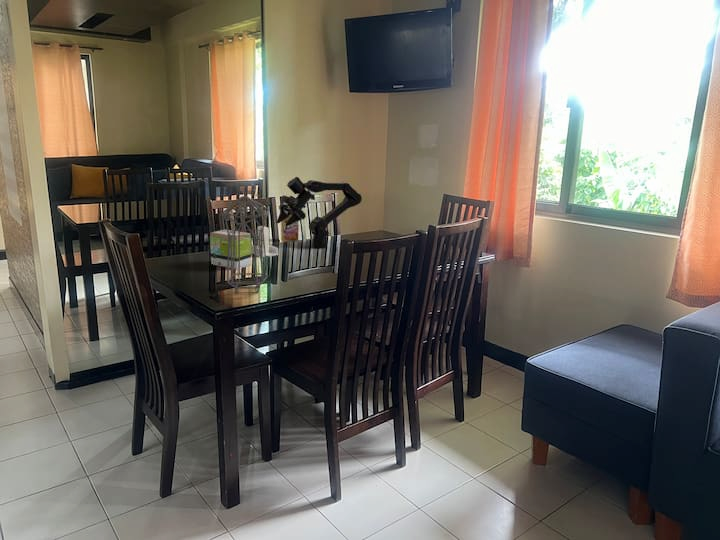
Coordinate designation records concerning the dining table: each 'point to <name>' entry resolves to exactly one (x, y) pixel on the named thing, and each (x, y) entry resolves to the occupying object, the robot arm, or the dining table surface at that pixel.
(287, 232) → the candy box
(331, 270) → the dining table surface
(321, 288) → the dining table surface
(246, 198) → the geometric lantern
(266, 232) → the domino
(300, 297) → the dining table surface
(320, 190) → the robot arm
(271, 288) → the dining table surface
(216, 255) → the tea box
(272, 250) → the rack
